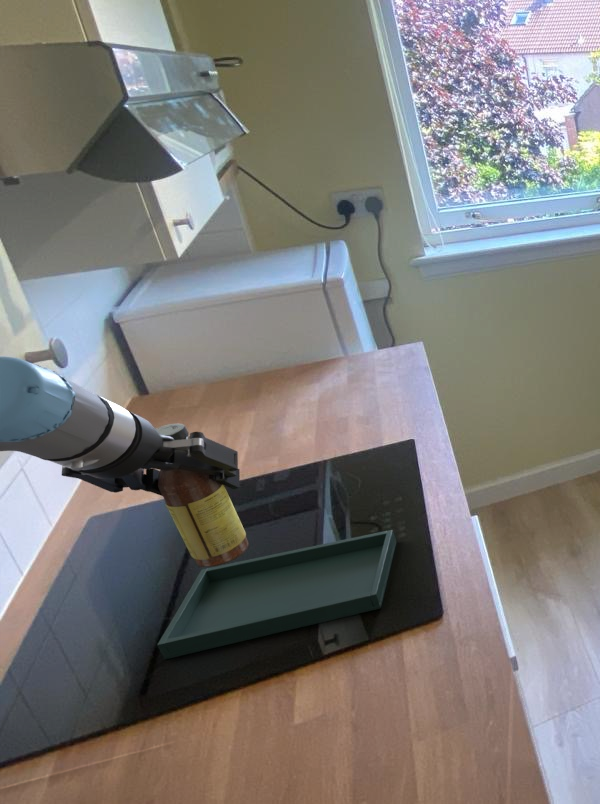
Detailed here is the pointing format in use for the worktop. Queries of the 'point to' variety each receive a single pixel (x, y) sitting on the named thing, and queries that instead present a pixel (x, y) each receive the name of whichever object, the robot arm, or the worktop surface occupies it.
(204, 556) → the sauce bottle
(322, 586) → the tray
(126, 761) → the worktop surface
